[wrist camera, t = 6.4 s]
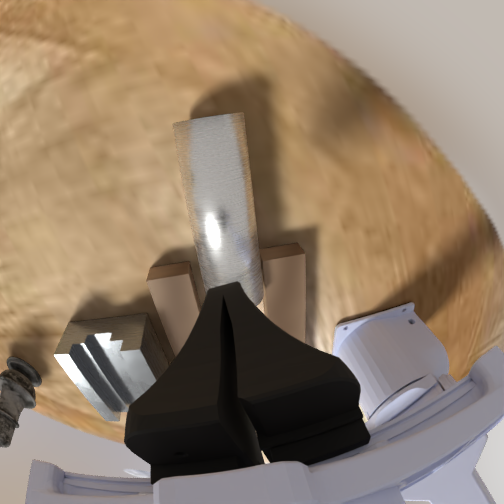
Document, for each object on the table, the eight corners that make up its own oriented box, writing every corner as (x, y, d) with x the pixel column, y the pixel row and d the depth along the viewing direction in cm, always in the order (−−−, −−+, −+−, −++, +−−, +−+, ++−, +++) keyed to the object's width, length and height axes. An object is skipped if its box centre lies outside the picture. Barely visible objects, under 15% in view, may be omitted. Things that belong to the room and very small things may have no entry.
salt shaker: (-2, 350, 21) (-37, 427, 10) (32, 359, 22) (0, 446, 12) (16, 382, 24) (-9, 454, 13) (50, 391, 25) (28, 471, 14)
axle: (172, 124, 16) (173, 122, 12) (234, 114, 17) (252, 111, 13) (203, 287, 21) (213, 319, 18) (254, 275, 22) (271, 304, 19)
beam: (297, 242, 21) (305, 253, 19) (299, 365, 27) (303, 378, 26) (150, 267, 20) (146, 280, 18) (193, 384, 26) (194, 398, 25)
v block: (147, 312, 22) (139, 349, 18) (179, 386, 26) (179, 419, 22) (68, 322, 21) (53, 354, 17) (111, 390, 25) (106, 421, 22)
